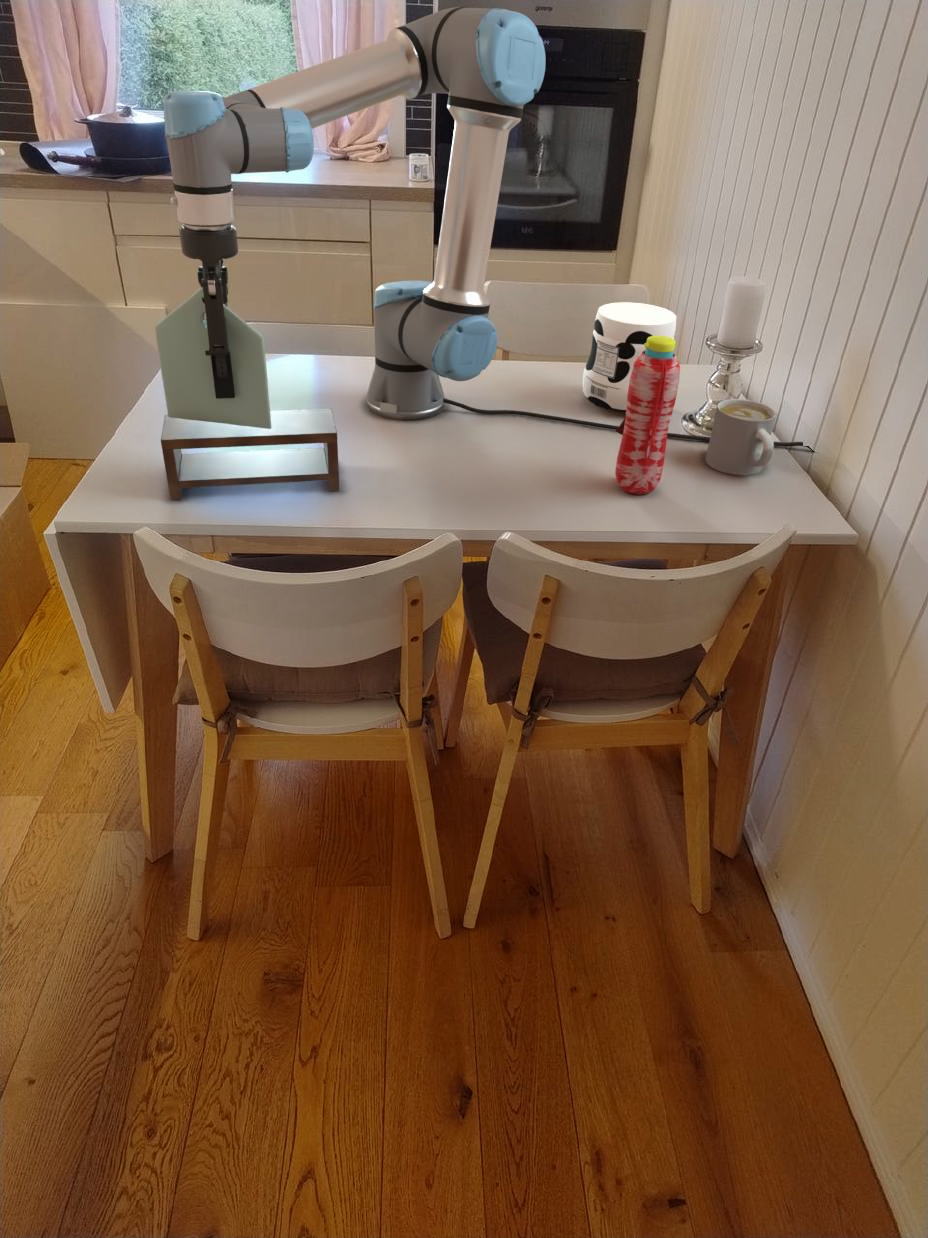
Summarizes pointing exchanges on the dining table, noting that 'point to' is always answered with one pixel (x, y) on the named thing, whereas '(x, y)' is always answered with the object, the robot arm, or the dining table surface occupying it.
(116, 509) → the dining table surface
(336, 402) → the dining table surface
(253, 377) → the planter
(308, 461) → the shelf
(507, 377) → the dining table surface
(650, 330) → the milk container
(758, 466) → the coffee mug
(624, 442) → the water bottle
